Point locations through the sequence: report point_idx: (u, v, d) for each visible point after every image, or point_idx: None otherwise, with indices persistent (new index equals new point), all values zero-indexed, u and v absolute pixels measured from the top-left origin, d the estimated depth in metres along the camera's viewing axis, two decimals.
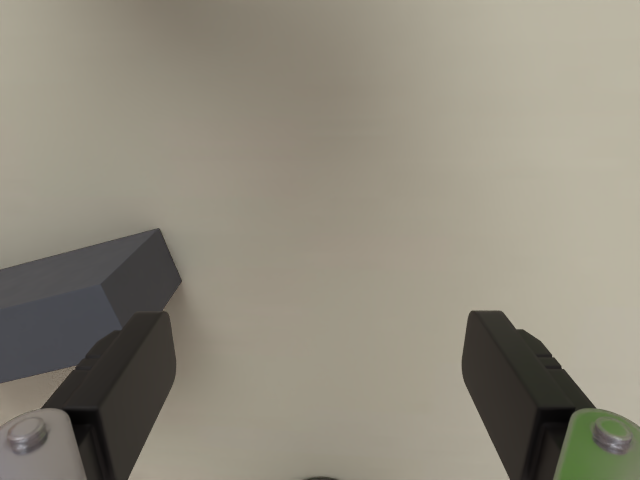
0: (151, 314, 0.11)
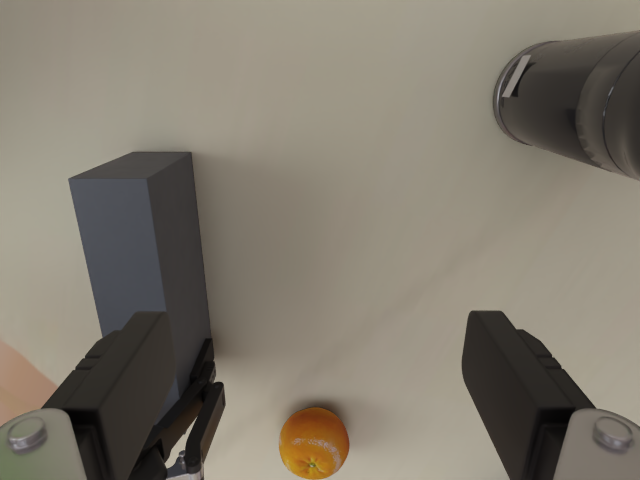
0: (151, 314, 0.11)
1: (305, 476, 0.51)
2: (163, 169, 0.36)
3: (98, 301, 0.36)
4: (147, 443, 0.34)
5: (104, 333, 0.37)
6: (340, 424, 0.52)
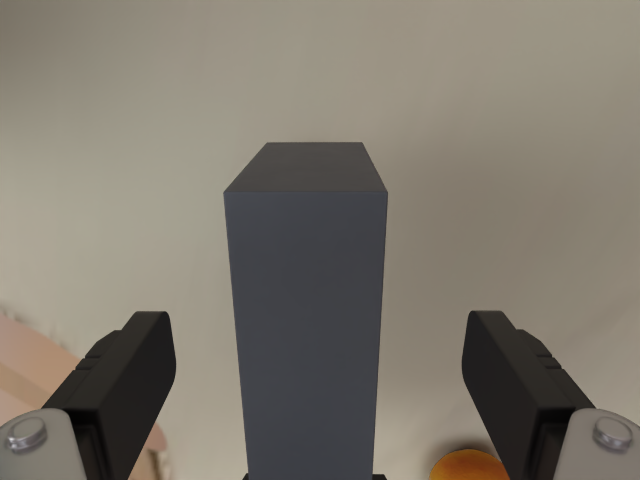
0: (151, 314, 0.11)
1: None
2: (376, 172, 0.19)
3: (250, 418, 0.19)
4: None
5: (253, 470, 0.20)
6: None
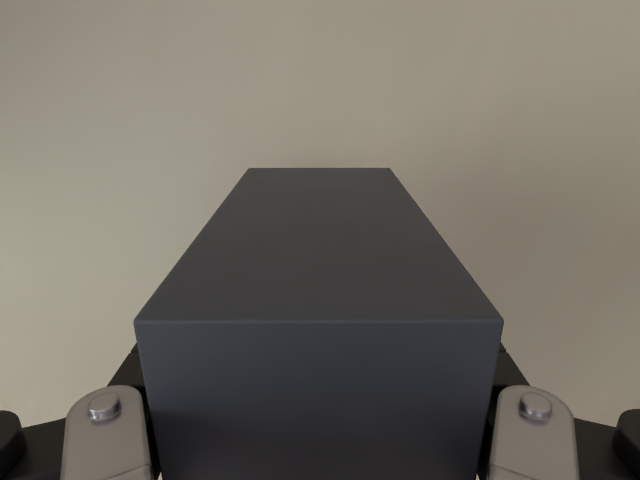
0: None
1: None
2: None
3: None
4: None
5: None
6: None
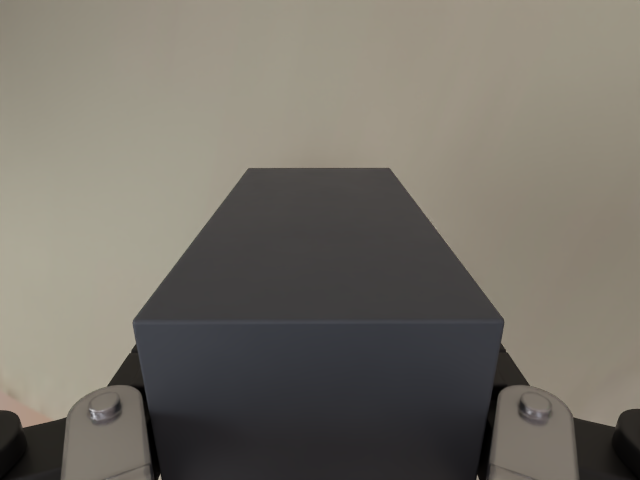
0: None
1: None
2: None
3: None
4: None
5: None
6: None
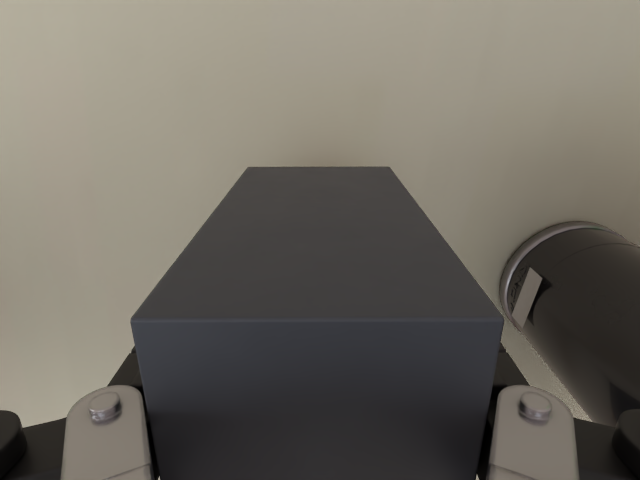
0: None
1: None
2: None
3: None
4: None
5: None
6: None
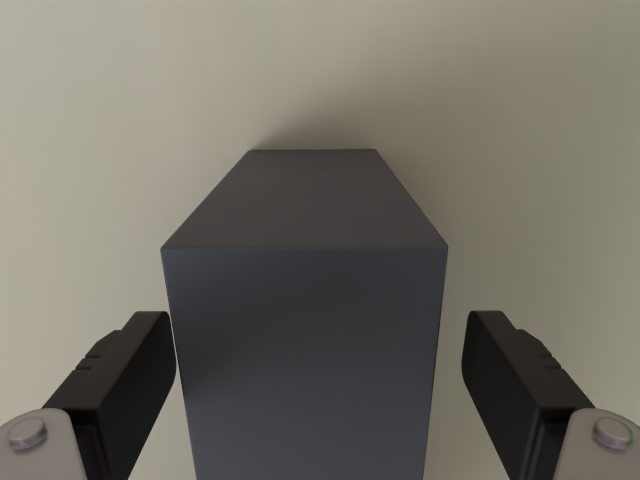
0: (151, 314, 0.11)
1: None
2: None
3: None
4: None
5: None
6: None
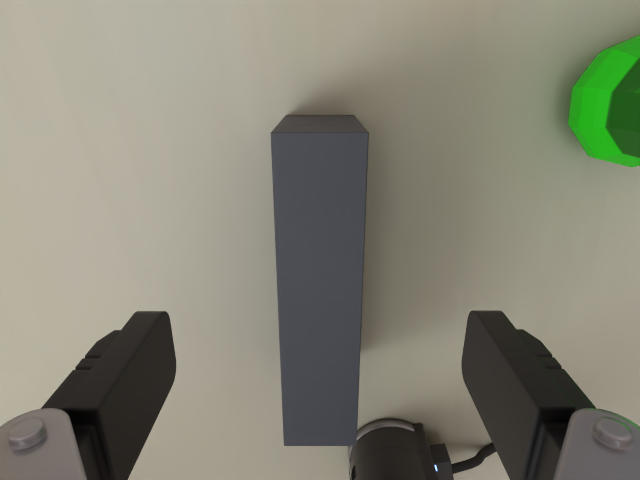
0: (151, 314, 0.11)
1: None
2: (362, 126, 0.29)
3: (282, 286, 0.30)
4: None
5: (282, 325, 0.31)
6: None
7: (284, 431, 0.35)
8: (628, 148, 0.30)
